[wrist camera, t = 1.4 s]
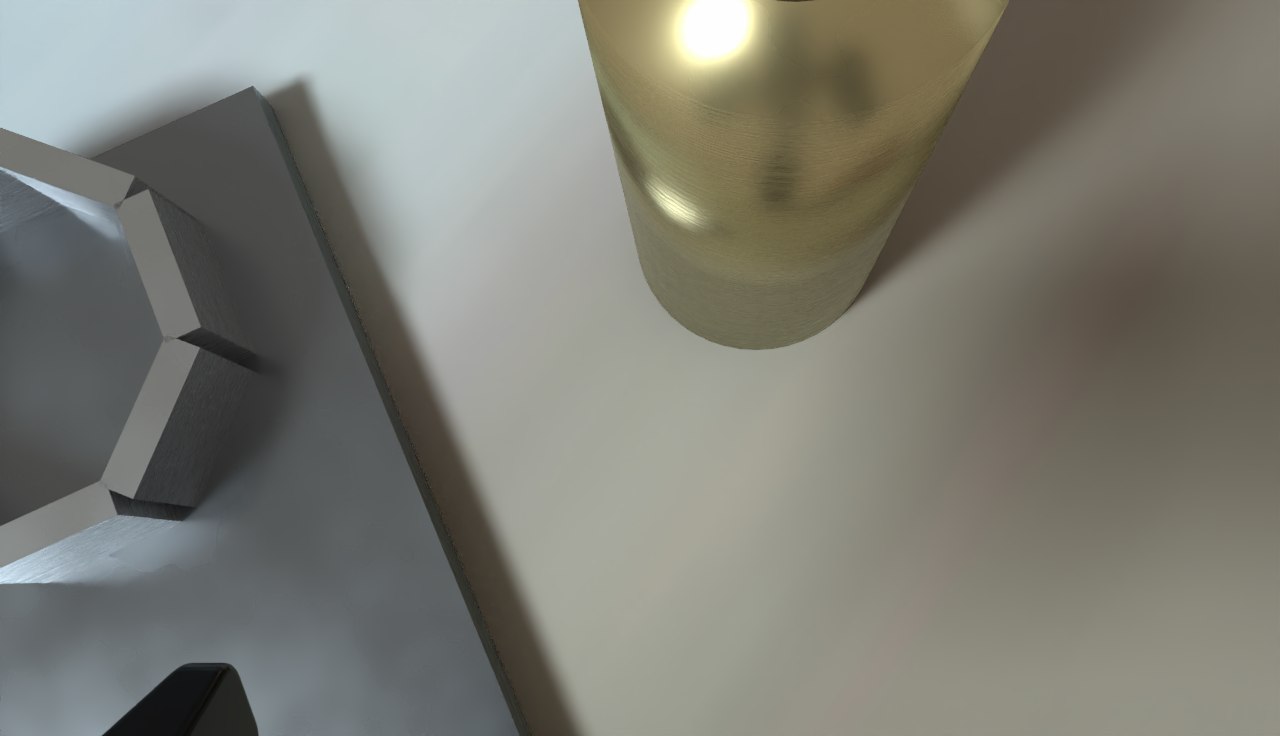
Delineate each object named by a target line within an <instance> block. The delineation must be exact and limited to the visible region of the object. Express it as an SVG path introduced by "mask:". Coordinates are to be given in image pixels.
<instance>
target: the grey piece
mask: <svg viewBox="0 0 1280 736" xmlns="http://www.w3.org/2000/svg"><path fill="white" fill-rule="evenodd" d="M187 663H228V664H231V665H232V666H233V667H234V668H235V669H236V670H237V672H238V674H239V676H240V678H241V681H242V684H243V687H244V690H245V692H246V695H247V698H248V701H249V703H250V706H251V709H252V712H253V715H254V717H255V720H256V723H257V727H258V734H259V736H531V734H530V732H529V729H528V727H527V725H526V722H525V720H524V717H523V715H522V712H521V710H520V708H519V705H518V703H517V700H516V698H515V695H514V693H513V691H512V688H511V686H510V683H509V681H508V678H507V676H506V674H505V671H504V669H503V666H502V664H501V661H500V659H499V657H498V654H497V652H496V649H495V647H494V645H493V642H492V640H491V637H490V635H489V632H488V630H487V628H486V625H485V623H484V620H483V618H482V615H481V613H480V611H479V608H478V606H477V603H476V601H475V598H474V596H473V594H472V591H471V589H470V586H469V584H468V581H467V579H466V577H465V574H464V572H463V569H462V567H461V565H460V562H459V560H458V557H457V555H456V552H455V550H454V548H453V545H452V543H451V540H450V538H449V535H448V533H447V531H446V528H445V526H444V523H443V521H442V518H441V516H440V514H439V511H438V509H437V506H436V504H435V501H434V499H433V497H432V494H431V492H430V489H429V487H428V485H427V482H426V480H425V477H424V475H423V472H422V470H421V468H420V465H419V463H418V460H417V458H416V455H415V453H414V451H413V448H412V446H411V443H410V441H409V438H408V436H407V434H406V431H405V429H404V426H403V424H402V421H401V419H400V417H399V414H398V412H397V409H396V407H395V405H394V402H393V400H392V397H391V395H390V392H389V390H388V388H387V385H386V383H385V380H384V378H383V375H382V373H381V371H380V368H379V366H378V363H377V361H376V358H375V356H374V354H373V351H372V349H371V346H370V344H369V342H368V339H367V337H366V334H365V332H364V329H363V327H362V325H361V322H360V320H359V317H358V315H357V312H356V310H355V308H354V305H353V303H352V300H351V298H350V295H349V293H348V291H347V288H346V286H345V283H344V281H343V278H342V276H341V274H340V271H339V269H338V266H337V264H336V262H335V259H334V257H333V254H332V252H331V249H330V247H329V245H328V242H327V240H326V237H325V235H324V232H323V230H322V228H321V225H320V223H319V220H318V218H317V215H316V213H315V211H314V208H313V206H312V203H311V201H310V198H309V196H308V194H307V191H306V189H305V186H304V184H303V182H302V179H301V177H300V174H299V172H298V169H297V167H296V165H295V162H294V160H293V157H292V155H291V152H290V150H289V148H288V145H287V143H286V140H285V138H284V135H283V133H282V131H281V128H280V126H279V123H278V121H277V118H276V116H275V114H274V111H273V109H272V106H271V105H270V104H269V103H268V101H267V100H266V99H265V98H264V97H263V96H262V95H261V94H260V93H259V92H258V91H257V90H256V89H255V88H254V87H253V86H252V87H249V88H247V89H245V90H243V91H241V92H238V93H236V94H234V95H232V96H229V97H227V98H225V99H223V100H221V101H218V102H216V103H214V104H212V105H209V106H207V107H205V108H203V109H201V110H198V111H196V112H194V113H192V114H189V115H187V116H185V117H183V118H181V119H178V120H176V121H174V122H172V123H169V124H167V125H165V126H163V127H161V128H158V129H156V130H154V131H152V132H149V133H147V134H145V135H143V136H141V137H138V138H136V139H134V140H132V141H129V142H127V143H125V144H123V145H121V146H118V147H116V148H114V149H112V150H109V151H107V152H105V153H103V154H101V155H98V156H96V157H94V158H92V159H86V158H84V157H81V156H78V155H75V154H72V153H70V152H67V151H64V150H61V149H58V148H56V147H53V146H50V145H47V144H44V143H42V142H39V141H36V140H33V139H31V138H28V137H25V136H22V135H19V134H17V133H14V132H11V131H8V130H5V129H3V128H0V736H102V735H103V734H104V733H105V732H106V731H107V730H108V729H109V728H111V727H112V726H113V725H114V724H115V723H116V722H117V721H118V720H119V719H121V718H122V717H123V716H124V715H125V714H126V713H127V712H128V711H129V710H131V709H132V708H133V707H134V706H135V705H136V704H137V703H138V702H139V701H141V700H142V699H143V698H144V697H145V696H146V695H147V694H148V693H149V692H151V691H152V690H153V689H154V688H155V687H156V686H157V685H158V684H159V683H161V682H162V681H163V680H164V679H165V678H166V677H167V676H168V675H169V674H171V673H172V672H173V671H174V670H175V669H177V668H178V667H180V666H182V665H184V664H187Z"/></svg>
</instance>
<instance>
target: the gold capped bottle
mask: <svg viewBox="0 0 1280 736" xmlns="http://www.w3.org/2000/svg"><path fill="white" fill-rule="evenodd" d="M1009 1H1010V0H578V2H579V7H580V11H581V15H582V19H583V23H584V28H585V32H586V36H587V40H588V45H589V49H590V53H591V57H592V62H593V66H594V70H595V74H596V78H597V83H598V87H599V91H600V95H601V100H602V104H603V108H604V112H605V117H606V121H607V125H608V129H609V133H610V138H611V142H612V146H613V150H614V155H615V159H616V163H617V167H618V172H619V176H620V180H621V184H622V188H623V193H624V197H625V201H626V205H627V210H628V214H629V218H630V222H631V227H632V231H633V235H634V239H635V243H636V248H637V252H638V256H639V260H640V264H641V267H642V270H643V273H644V276H645V279H646V281H647V283H648V285H649V287H650V289H651V291H652V292H653V294H654V295H655V297H656V298H657V300H658V301H659V303H660V304H661V305H662V306H663V308H664V309H665V310H666V311H667V312H668V313H669V314H670V315H671V316H672V317H673V318H674V319H675V320H676V321H678V322H679V323H680V324H681V325H682V326H684V327H685V328H687V329H688V330H690V331H691V332H693V333H695V334H696V335H698V336H700V337H703V338H705V339H707V340H709V341H711V342H714V343H717V344H720V345H724V346H728V347H733V348H738V349H750V350H762V349H774V348H779V347H784V346H789V345H792V344H795V343H798V342H801V341H803V340H805V339H807V338H810V337H812V336H814V335H816V334H818V333H819V332H821V331H822V330H824V329H825V328H827V327H828V326H830V325H831V324H832V323H833V322H834V321H836V320H837V319H838V318H839V317H840V316H841V315H842V314H843V313H844V312H845V311H846V310H847V309H848V308H849V306H850V305H851V304H852V303H853V302H854V300H855V299H856V297H857V296H858V294H859V293H860V291H861V289H862V287H863V285H864V283H865V282H866V280H867V278H868V276H869V274H870V272H871V270H872V268H873V266H874V264H875V262H876V260H877V258H878V256H879V254H880V252H881V250H882V248H883V246H884V244H885V243H886V241H887V239H888V237H889V235H890V233H891V231H892V229H893V227H894V225H895V223H896V221H897V219H898V217H899V215H900V213H901V211H902V209H903V207H904V205H905V204H906V202H907V200H908V198H909V196H910V194H911V192H912V190H913V188H914V186H915V184H916V182H917V180H918V178H919V176H920V174H921V172H922V170H923V168H924V167H925V165H926V163H927V161H928V159H929V157H930V155H931V153H932V151H933V149H934V147H935V145H936V143H937V141H938V139H939V137H940V135H941V133H942V131H943V129H944V128H945V126H946V124H947V122H948V120H949V118H950V116H951V114H952V112H953V110H954V108H955V106H956V104H957V102H958V100H959V98H960V96H961V94H962V92H963V90H964V89H965V87H966V85H967V83H968V81H969V79H970V77H971V75H972V73H973V71H974V69H975V67H976V65H977V63H978V61H979V59H980V57H981V55H982V53H983V51H984V50H985V48H986V46H987V44H988V42H989V40H990V38H991V36H992V34H993V32H994V30H995V28H996V26H997V24H998V22H999V20H1000V18H1001V16H1002V14H1003V13H1004V11H1005V9H1006V7H1007V5H1008V3H1009Z"/></svg>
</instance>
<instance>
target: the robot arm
mask: <svg viewBox="0 0 1280 736" xmlns="http://www.w3.org/2000/svg"><path fill="white" fill-rule="evenodd" d="M102 736H259V734H258V727H257V723H256V720H255V717H254V715H253V712H252V709H251V706H250V703H249V701H248V698H247V695H246V692H245V690H244V687H243V684H242V681H241V678H240V676H239V674H238V672H237V670H236V669H235V668H234V667H233V666H232V665H231V664H228V663H187V664H184V665H182V666H180V667H178V668H177V669H175V670H174V671H173V672H172V673H171V674H169V675H168V676H167V677H166V678H165V679H164V680H163V681H162V682H161V683H159V684H158V685H157V686H156V687H155V688H154V689H153V690H152V691H151V692H149V693H148V694H147V695H146V696H145V697H144V698H143V699H142V700H141V701H139V702H138V703H137V704H136V705H135V706H134V707H133V708H132V709H131V710H129V711H128V712H127V713H126V714H125V715H124V716H123V717H122V718H121V719H119V720H118V721H117V722H116V723H115V724H114V725H113V726H112V727H111V728H109V729H108V730H107V731H106V732H105V733H104V734H103V735H102Z"/></svg>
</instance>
